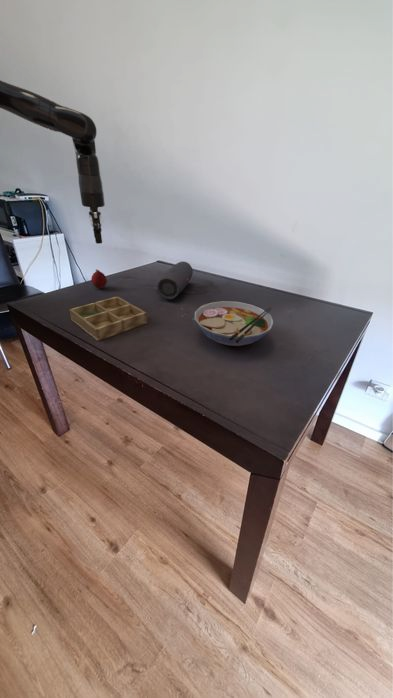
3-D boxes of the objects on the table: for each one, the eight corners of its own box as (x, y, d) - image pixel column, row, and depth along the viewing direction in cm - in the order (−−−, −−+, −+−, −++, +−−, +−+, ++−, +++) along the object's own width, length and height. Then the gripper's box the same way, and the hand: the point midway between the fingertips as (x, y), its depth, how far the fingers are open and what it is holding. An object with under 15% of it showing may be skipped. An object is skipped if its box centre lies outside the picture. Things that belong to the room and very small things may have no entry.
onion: (106, 285, 119) (103, 266, 115) (109, 290, 115) (106, 270, 110) (91, 287, 117) (88, 268, 112) (94, 292, 112) (91, 272, 108)
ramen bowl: (219, 314, 100) (221, 292, 96) (281, 334, 89) (287, 310, 85) (175, 343, 82) (175, 317, 78) (245, 372, 72) (250, 345, 67)
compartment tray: (97, 341, 82) (95, 329, 80) (71, 320, 92) (69, 309, 90) (147, 323, 92) (146, 312, 90) (118, 306, 102) (117, 296, 100)
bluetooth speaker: (180, 304, 106) (180, 278, 100) (156, 301, 107) (155, 275, 102) (193, 284, 125) (194, 261, 119) (173, 281, 126) (173, 258, 121)
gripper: (79, 188, 100) (87, 236, 109) (80, 192, 89) (88, 245, 98) (101, 189, 103) (107, 236, 111) (104, 192, 92) (110, 244, 100)
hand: (98, 240), depth 105 cm, fingers open, 8 cm apart
